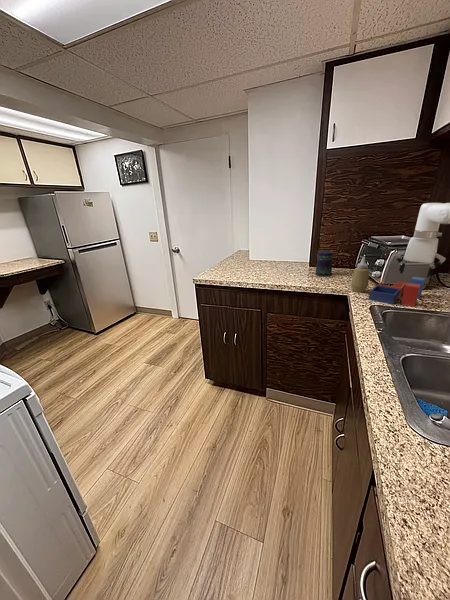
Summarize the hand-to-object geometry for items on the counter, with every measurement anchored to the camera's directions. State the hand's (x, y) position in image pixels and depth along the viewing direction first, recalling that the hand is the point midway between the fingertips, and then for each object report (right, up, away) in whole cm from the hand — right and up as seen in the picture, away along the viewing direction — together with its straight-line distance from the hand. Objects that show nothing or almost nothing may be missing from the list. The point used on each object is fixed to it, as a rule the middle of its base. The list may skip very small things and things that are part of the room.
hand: (414, 274), depth 108 cm
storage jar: (-19, +6, +54) cm, 58 cm away
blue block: (+10, -9, +13) cm, 18 cm away
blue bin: (-6, -11, +11) cm, 17 cm away
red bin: (+2, -7, +19) cm, 21 cm away
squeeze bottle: (-12, -6, +23) cm, 27 cm away
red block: (+1, -13, +5) cm, 14 cm away
